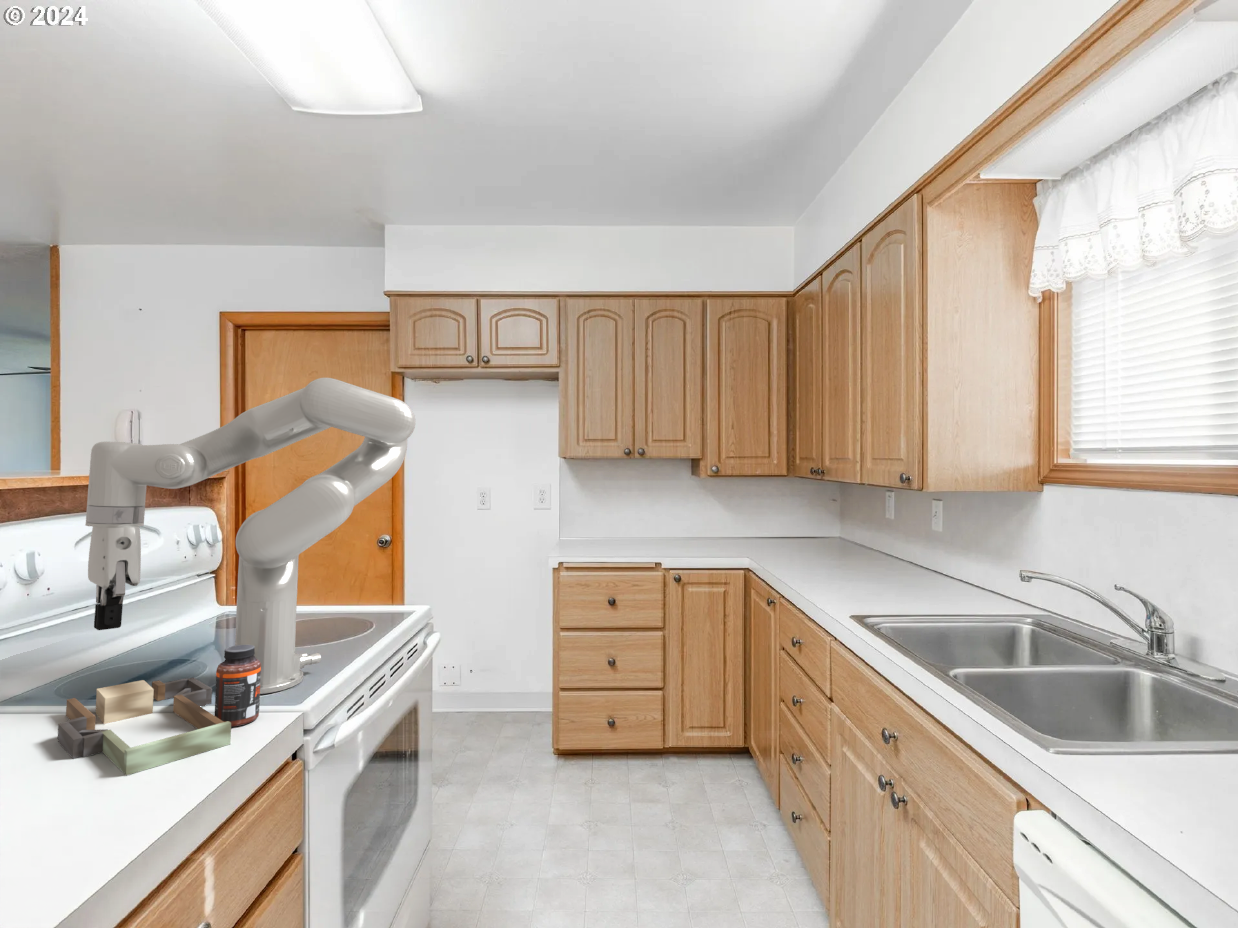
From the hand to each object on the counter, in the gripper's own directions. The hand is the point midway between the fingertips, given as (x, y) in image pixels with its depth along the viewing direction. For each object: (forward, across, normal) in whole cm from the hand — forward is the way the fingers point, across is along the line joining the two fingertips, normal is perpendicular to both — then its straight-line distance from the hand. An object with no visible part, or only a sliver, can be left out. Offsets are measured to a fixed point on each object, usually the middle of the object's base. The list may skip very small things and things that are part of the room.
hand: (107, 627), depth 102 cm
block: (+12, -8, -1) cm, 15 cm away
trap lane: (+12, -18, -1) cm, 22 cm away
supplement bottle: (+12, -24, -11) cm, 29 cm away
